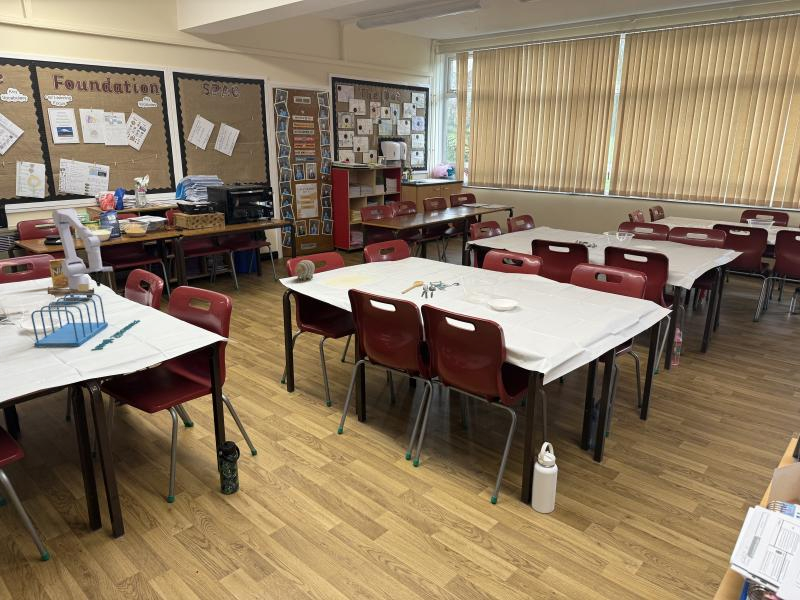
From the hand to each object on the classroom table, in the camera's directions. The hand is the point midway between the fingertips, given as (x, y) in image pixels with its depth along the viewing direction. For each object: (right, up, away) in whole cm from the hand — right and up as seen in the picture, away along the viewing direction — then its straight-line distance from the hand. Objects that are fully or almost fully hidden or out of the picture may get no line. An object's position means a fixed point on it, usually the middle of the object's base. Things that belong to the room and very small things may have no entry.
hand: (98, 285), depth 287 cm
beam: (-11, -5, -5) cm, 13 cm away
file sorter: (+18, -23, -53) cm, 61 cm away
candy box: (-32, 0, +23) cm, 39 cm away
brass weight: (-6, -3, -3) cm, 8 cm away
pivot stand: (-11, -8, -4) cm, 14 cm away
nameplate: (+36, -22, -51) cm, 66 cm away
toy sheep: (+99, +5, +44) cm, 108 cm away
